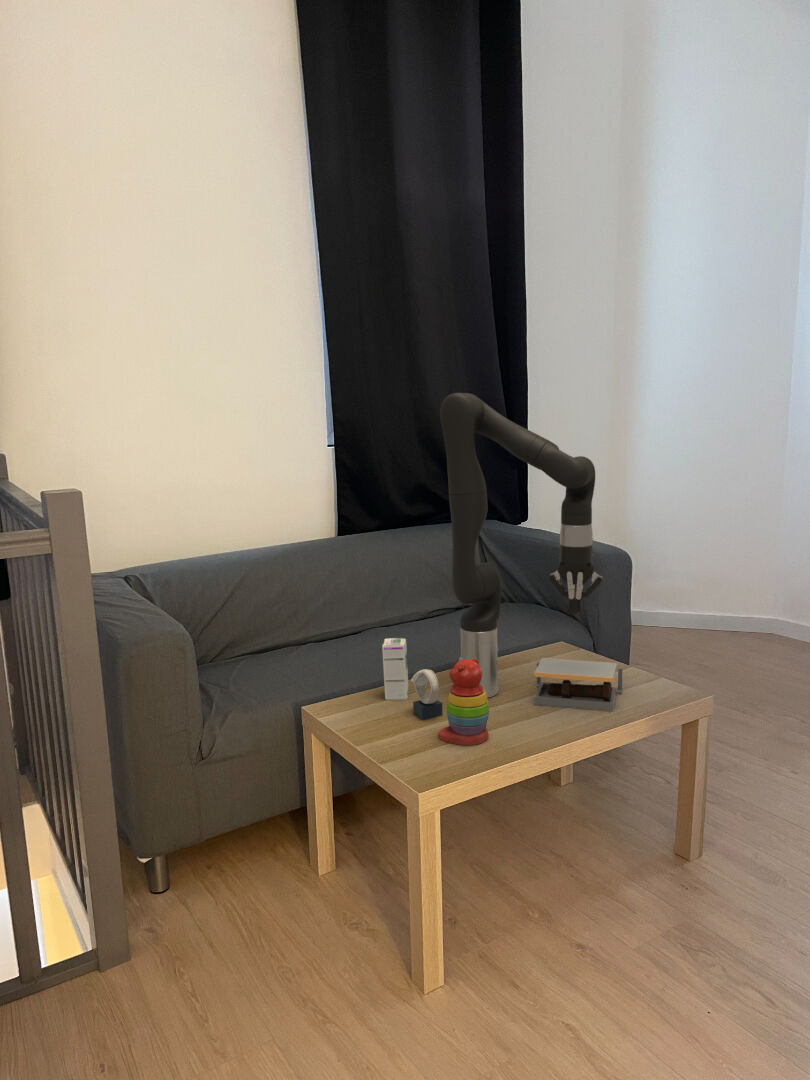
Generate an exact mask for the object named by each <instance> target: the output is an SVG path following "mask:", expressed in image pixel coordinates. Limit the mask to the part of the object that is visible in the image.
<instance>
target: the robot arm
mask: <svg viewBox="0 0 810 1080" xmlns="http://www.w3.org/2000/svg"><path fill="white" fill-rule="evenodd" d="M439 410H440V411H439V417H440V424H441V430H442V434H443V439H444V445H445V453H446V465H447V466H446V469H447V470H446V471H447V479H448V480H447V482H448V483H447V484H448V501H449V511H450V518H451V520H450V521H451V536H452V558H451V559H452V563H451V564H452V565H451V566H452V567H451V575H452V576H451V581H452V582H451V583H452V588H453V589H452V590H453V593H454V595H455V597H456V599H457V600H458V601H459V602H460V603H462V604H465V605H469V604H471V605H470V607H469V608H468V609H467V610H466V611H465V612H464V613H462V615H461V616H460V619H459V620H460V621H459V622H460V623H459V625H460V627H459V628H460V630H459V631H460V656H459V658H458V662H459V661H461V660H472V659H473V658H476V659H477V660H478V665H479V666H480V667H481V670H482V678H481V681H480V685H481V686H482V687H483V689H484V690H485V692H486V695H487V699H488V698H491V697H494V696H496V695H497V694H498V693H499V679H498V678H499V671H498V670H499V667H498V666H499V665H498V662H499V661H498V621H499V618H500V616H501V615H500V614H501V596H502V581H501V577H500V573H499V571H498V569H497V567H496V566H495V565H494V564H492V563H490V562H480V563H476V550H477V549H476V547H477V543H478V539H479V537H480V534H481V532H482V529H483V526H484V524H485V522H486V518H487V516H488V515H487V514H488V510H489V509H488V508H489V506H488V494H487V493H488V492H487V484H486V479H485V477H484V474H483V471H482V468H481V465H480V463H479V461H478V460H479V459H478V457H477V453H476V448H475V446H476V445H475V433H476V434H478V435H482V436H484V437H487V438H488V439H490V440H492V441H494V442H496V443H497V444H499V446H501V447H502V448H504V449H505V450H507V451H508V452H509V453H510V454H511V455H513V456H514V457H516V458H518V459H519V460H521V461H522V462H525V463H526V464H529V465H530V466H531V467H534V468H535V469H537V470H540V471H542V472H543V473H544V474H545V475H546V476H548V477H549V478H551V479H552V480H553V481H555V482H556V483H558V484H559V485H560V486H562V487H565V495H564V496H565V497H564V498H563V500H562V502H561V506H560V507H561V510H560V511H561V512H560V513H561V515H560V517H561V518H560V531H559V564H558V567H557V570H556V571H555V572H552V573H550V574H549V576H548V579H549V581H550V583H552V584H553V586H554V588H556V590H557V591H558V593H559V594H560V595H561V596H562V597H566V598H567V599H568V611H569V612H571V615H578V614H579V613H581V611H582V599H584V598H588V597H589V596H590V595H591V594H592V593H593V592H594V591H595V590H596V589H597V587H598V586H599V585H600V584H601V583H602V582H603V579H604V578H603V575H600V574H598V573H597V572H596V571H595V567H594V566H593V542H594V537H593V536H594V535H593V534H594V533H593V525H592V523H593V522H592V521H593V519H592V517H593V507H592V504H593V499H594V497H593V496H594V494H595V493H594V492H595V485H596V484H595V483H596V468H595V465H594V463H593V462H592V460H591V459H590V458H588V457H585V456H582V455H581V456H575V457H574V456H571V455H570V454H567V453H566V452H564V451H563V450H561V449H560V447H559V446H558V444H556V443H554V442H552V441H550V440H549V439H547V438H545V437H543V436H541V435H539V434H537V433H535V432H534V431H531V430H530V429H527V428H525V427H523V426H521V425H519V424H517V423H515V422H514V421H512V420H510V419H508V418H507V417H506V416H504V415H502V414H500V413H499V412H498V411H496V410H495V409H494V408H492V407H491V406H489V405H488V404H487V403H486V402H485V401H483V400H482V399H481V398H479V397H478V396H476V395H475V394H474V393H473V394H472V393H469V392H468V393H467V392H454V393H450V394H449V395H447V396H446V397H445V398H444V400H443V401H442V402H441V407H440V409H439ZM591 577H592V578H591ZM561 578H562V581H564V583H566V584H567V588H566V587H565V586H564V584H563V583H562V581H561V580H560V579H561ZM590 578H591V582H592V583H590V585H589V586H588V587H587V588H586V589H585V590H584V585H585V584H586V583H587V582H588V580H589V579H590ZM575 585H576V590H575Z"/></svg>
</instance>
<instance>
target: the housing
mask: <svg viewBox="0 0 810 1080" xmlns="http://www.w3.org/2000/svg"><path fill="white" fill-rule="evenodd" d="M539 663H540V661H537V662H536V668H537V667H538V665H539ZM617 673H618V674H617V686H615V687H614V686H611V698H610V702H605V701H603V699H597V698H591V697H590V698H588V697H586V698H584V697H573V696H572V697H571V699H568V698H562V696H555V695H554V696H551V695H549V694H548V692H547V689H549V688H550V687H548V685H550V684H551V683H552V682H550V681H542V677H536V685H535V688H537V690H536V692H535V695H534V697H533V699H534V700H533V701H534V703H533V704H534V706H545V707H546V706H547V707H558V708H569V709H571V708H572V709H579V710H580V709H581V710H593V711H603V712H604V711H605V712H614V708H615V701H616V695H622V694H623V667H618V668H617ZM554 683H555V684H556V683H558V684H560V683H561V682H560V683H559V682H554ZM573 684H574V685H575V684H576V683H573ZM616 693H618V694H616Z"/></svg>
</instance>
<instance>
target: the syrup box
mask: <svg viewBox="0 0 810 1080" xmlns="http://www.w3.org/2000/svg"><path fill="white" fill-rule="evenodd" d="M381 647H382V668H383V685H384V686H383V689H384V698H385V699H384V700H386V701H388V700H390V701H399V700H401V701H404V700H408V696H409V692H410V689H409V687H410V686H409V670H408V651H407V648H408V647H407V638H404V637H392V638H391V637H390V638H384V641H383V642H382V646H381Z"/></svg>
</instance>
